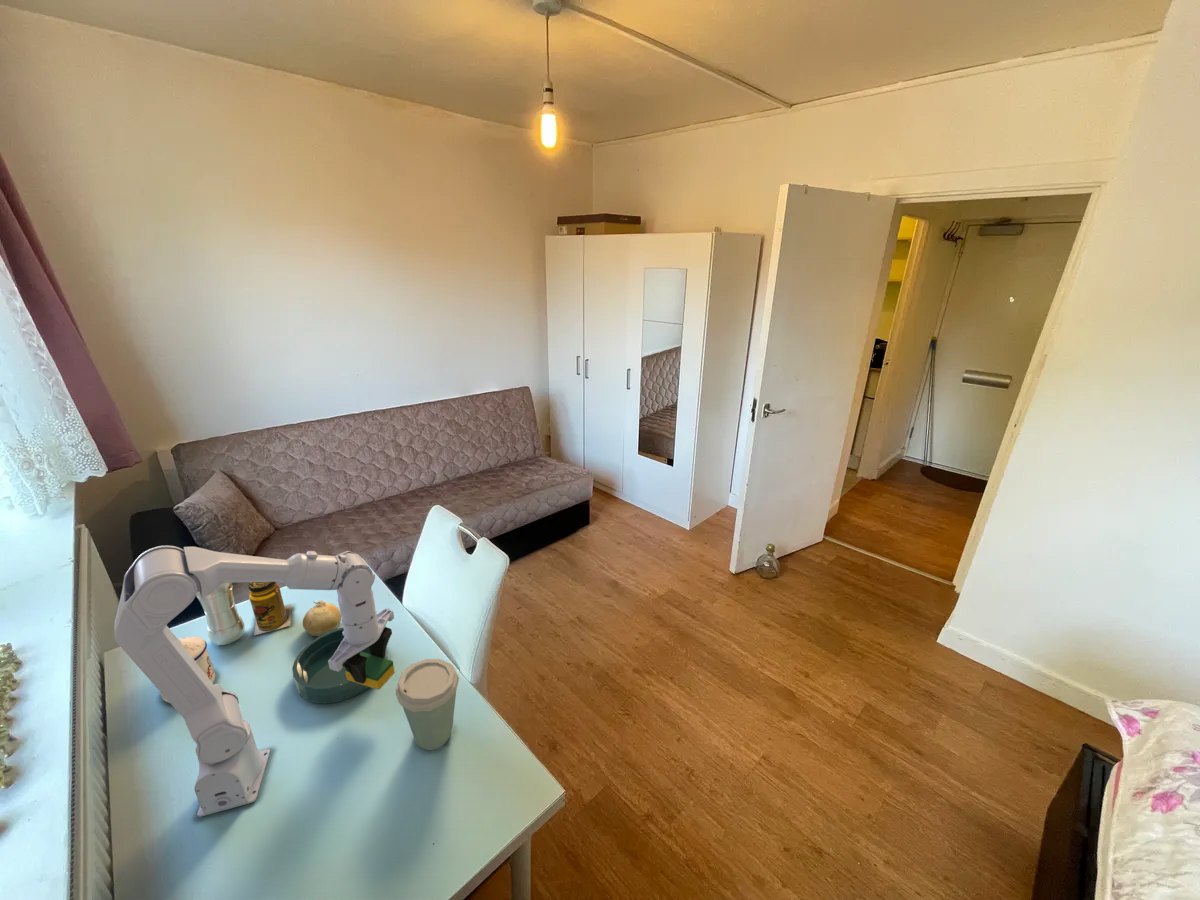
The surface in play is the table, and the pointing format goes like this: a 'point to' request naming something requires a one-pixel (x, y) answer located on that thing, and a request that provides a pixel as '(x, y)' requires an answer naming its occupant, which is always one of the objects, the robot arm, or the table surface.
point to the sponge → (375, 671)
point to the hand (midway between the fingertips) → (369, 671)
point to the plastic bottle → (222, 615)
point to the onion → (321, 619)
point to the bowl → (324, 671)
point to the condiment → (268, 607)
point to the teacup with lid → (198, 656)
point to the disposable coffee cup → (429, 700)
